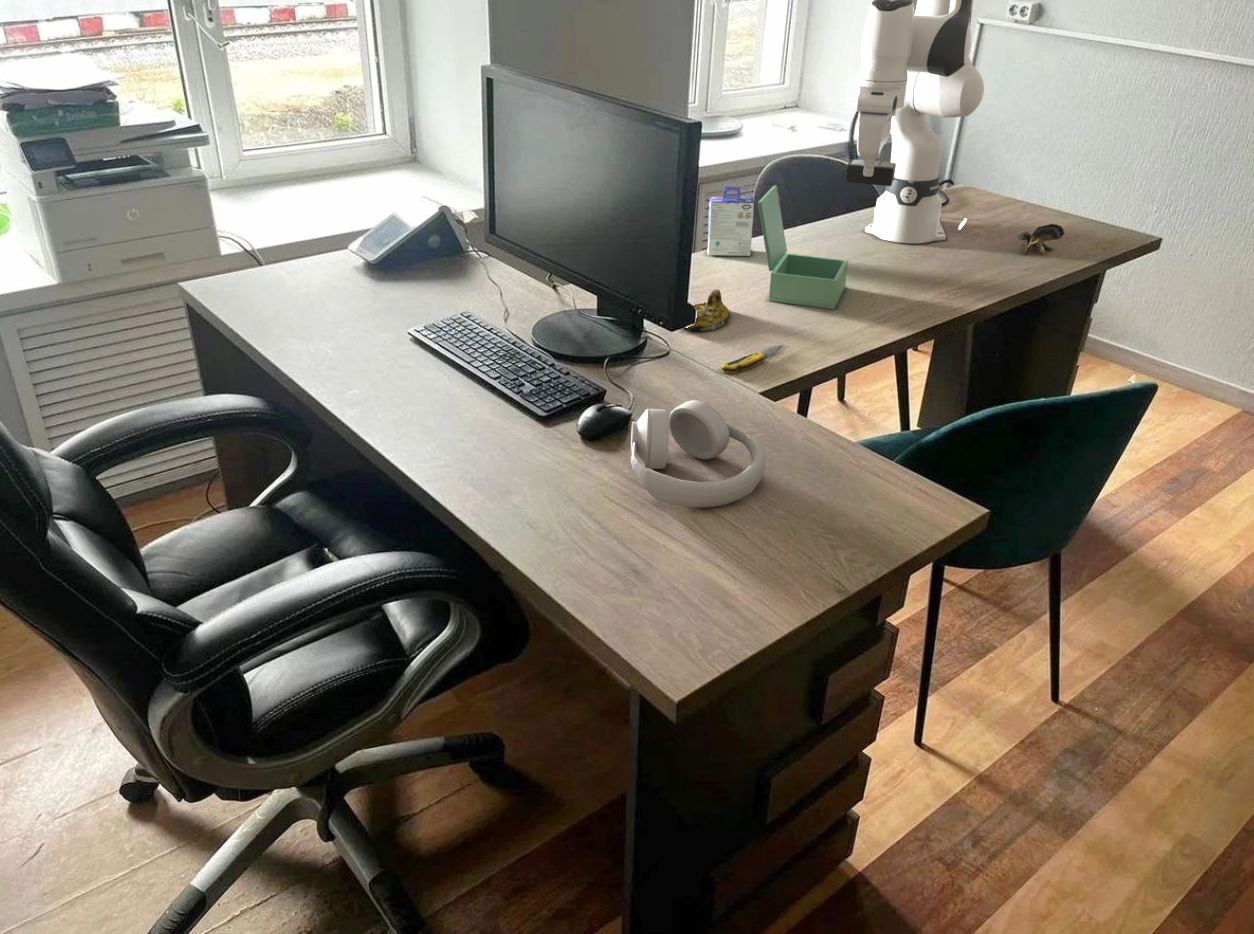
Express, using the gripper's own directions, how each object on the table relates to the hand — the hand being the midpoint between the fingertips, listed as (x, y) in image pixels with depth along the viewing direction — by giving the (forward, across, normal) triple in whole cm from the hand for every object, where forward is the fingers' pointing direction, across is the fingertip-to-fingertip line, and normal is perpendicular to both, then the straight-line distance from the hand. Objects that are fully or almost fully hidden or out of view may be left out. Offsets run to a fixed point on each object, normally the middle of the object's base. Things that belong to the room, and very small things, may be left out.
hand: (870, 172), depth 189 cm
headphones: (+26, +79, -11) cm, 84 cm away
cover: (+12, +1, -17) cm, 21 cm away
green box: (+25, +1, -9) cm, 27 cm away
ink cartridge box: (+25, -20, -31) cm, 45 cm away
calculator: (+2, 0, 0) cm, 2 cm away
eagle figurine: (+25, -46, +35) cm, 63 cm away
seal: (+26, +22, -26) cm, 42 cm away
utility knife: (+26, +37, -12) cm, 47 cm away
